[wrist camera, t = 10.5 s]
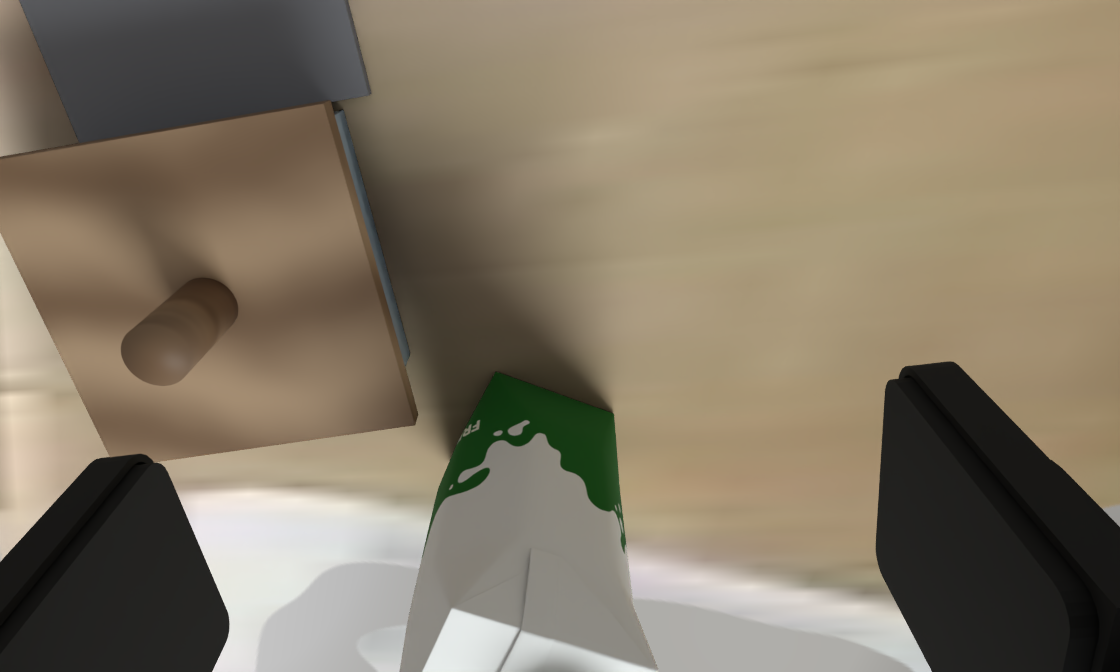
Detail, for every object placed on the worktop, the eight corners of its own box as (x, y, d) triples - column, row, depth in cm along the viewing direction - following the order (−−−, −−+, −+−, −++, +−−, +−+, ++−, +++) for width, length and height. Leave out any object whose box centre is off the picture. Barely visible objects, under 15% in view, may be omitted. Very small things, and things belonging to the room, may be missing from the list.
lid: (-17, 159, 33) (-131, 198, 27) (330, 99, 32) (283, 127, 26) (125, 456, 39) (55, 535, 34) (418, 414, 38) (395, 488, 33)
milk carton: (575, 521, 47) (585, 868, 29) (432, 474, 46) (348, 808, 28) (636, 404, 44) (690, 715, 26) (483, 349, 42) (427, 637, 24)
